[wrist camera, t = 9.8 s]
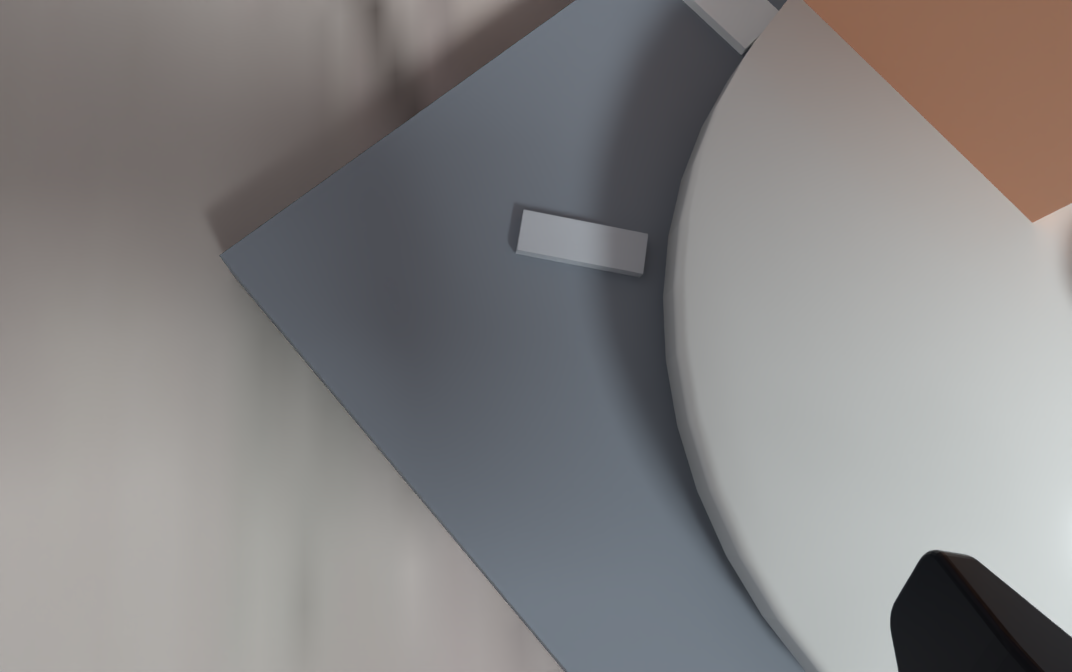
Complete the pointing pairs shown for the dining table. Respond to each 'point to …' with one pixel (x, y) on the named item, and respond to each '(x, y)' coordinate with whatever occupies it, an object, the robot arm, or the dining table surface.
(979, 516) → the dial
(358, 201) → the board
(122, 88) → the dining table surface
